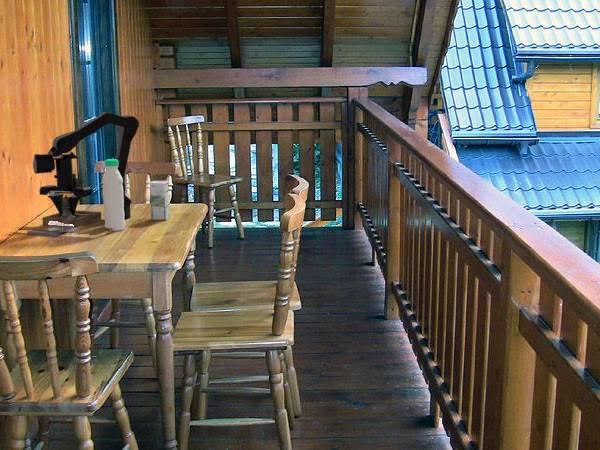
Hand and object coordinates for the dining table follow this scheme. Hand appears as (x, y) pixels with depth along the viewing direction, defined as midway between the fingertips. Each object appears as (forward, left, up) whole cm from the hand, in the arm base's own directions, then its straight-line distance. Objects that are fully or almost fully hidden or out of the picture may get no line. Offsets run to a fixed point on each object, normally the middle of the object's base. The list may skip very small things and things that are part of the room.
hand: (67, 214), depth 300 cm
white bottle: (-19, -1, -5) cm, 20 cm away
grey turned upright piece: (0, 0, -5) cm, 5 cm away
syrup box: (-25, -23, -5) cm, 34 cm away
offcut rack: (0, -3, -4) cm, 5 cm away
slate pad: (0, +11, -4) cm, 12 cm away
